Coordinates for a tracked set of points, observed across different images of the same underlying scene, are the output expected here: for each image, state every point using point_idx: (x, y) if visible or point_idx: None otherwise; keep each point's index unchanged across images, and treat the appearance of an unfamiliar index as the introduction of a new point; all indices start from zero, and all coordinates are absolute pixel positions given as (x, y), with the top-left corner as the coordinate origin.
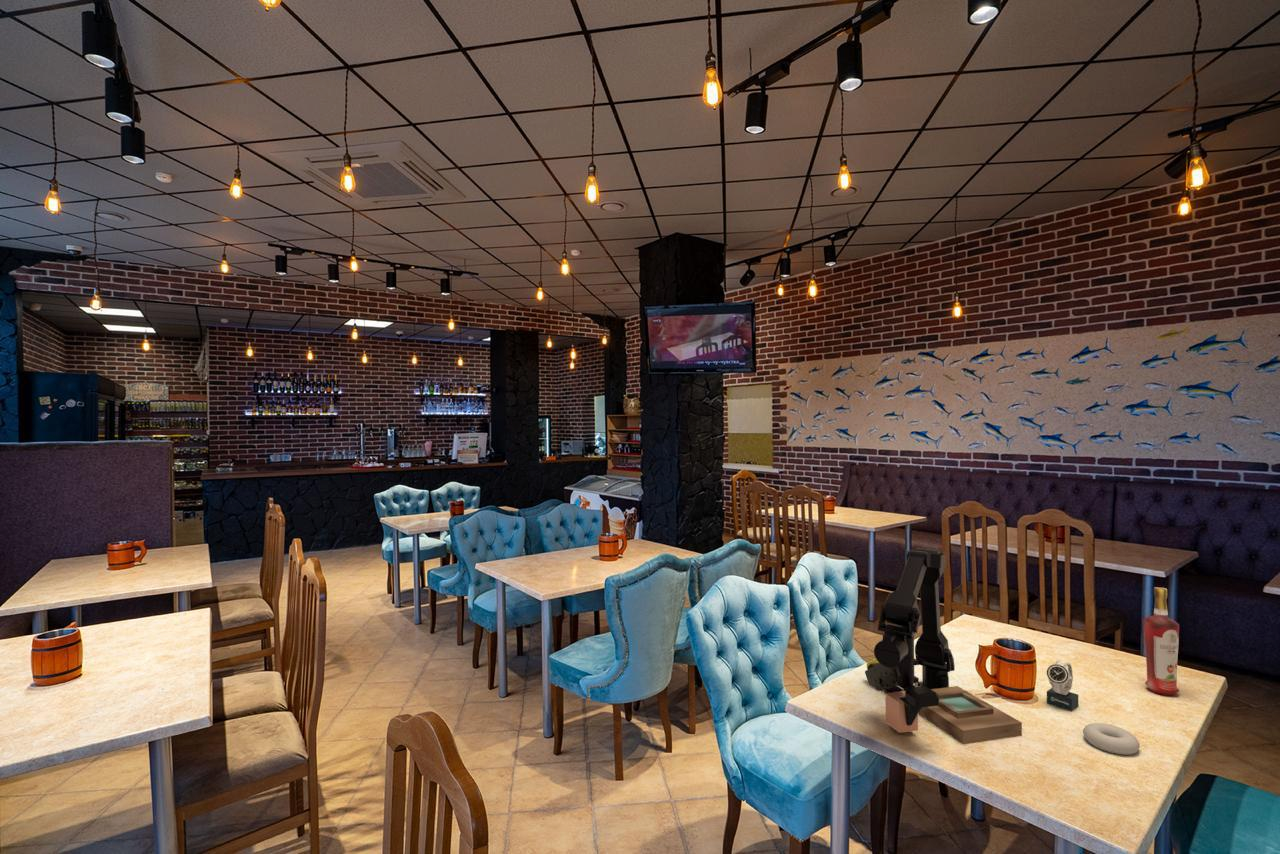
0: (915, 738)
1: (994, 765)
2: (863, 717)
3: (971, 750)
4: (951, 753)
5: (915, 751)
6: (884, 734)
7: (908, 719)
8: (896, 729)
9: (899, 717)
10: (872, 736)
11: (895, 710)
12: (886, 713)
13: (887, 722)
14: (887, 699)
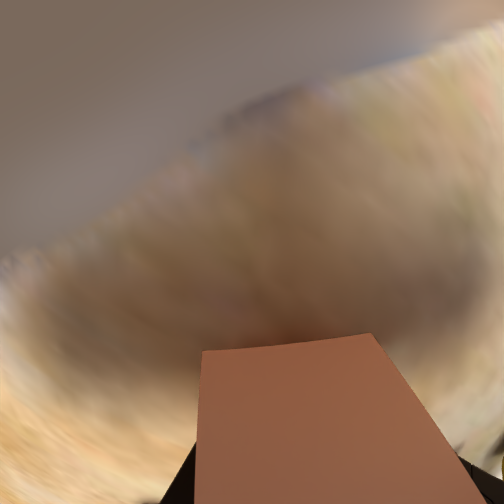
0: (192, 407)
1: (26, 480)
2: (486, 239)
3: (99, 496)
4: (63, 446)
5: (50, 327)
6: (276, 255)
7: (174, 482)
8: (238, 354)
9: (199, 452)
10: (267, 140)
11: (267, 487)
12: (392, 381)
13: (352, 341)
14: (442, 497)
